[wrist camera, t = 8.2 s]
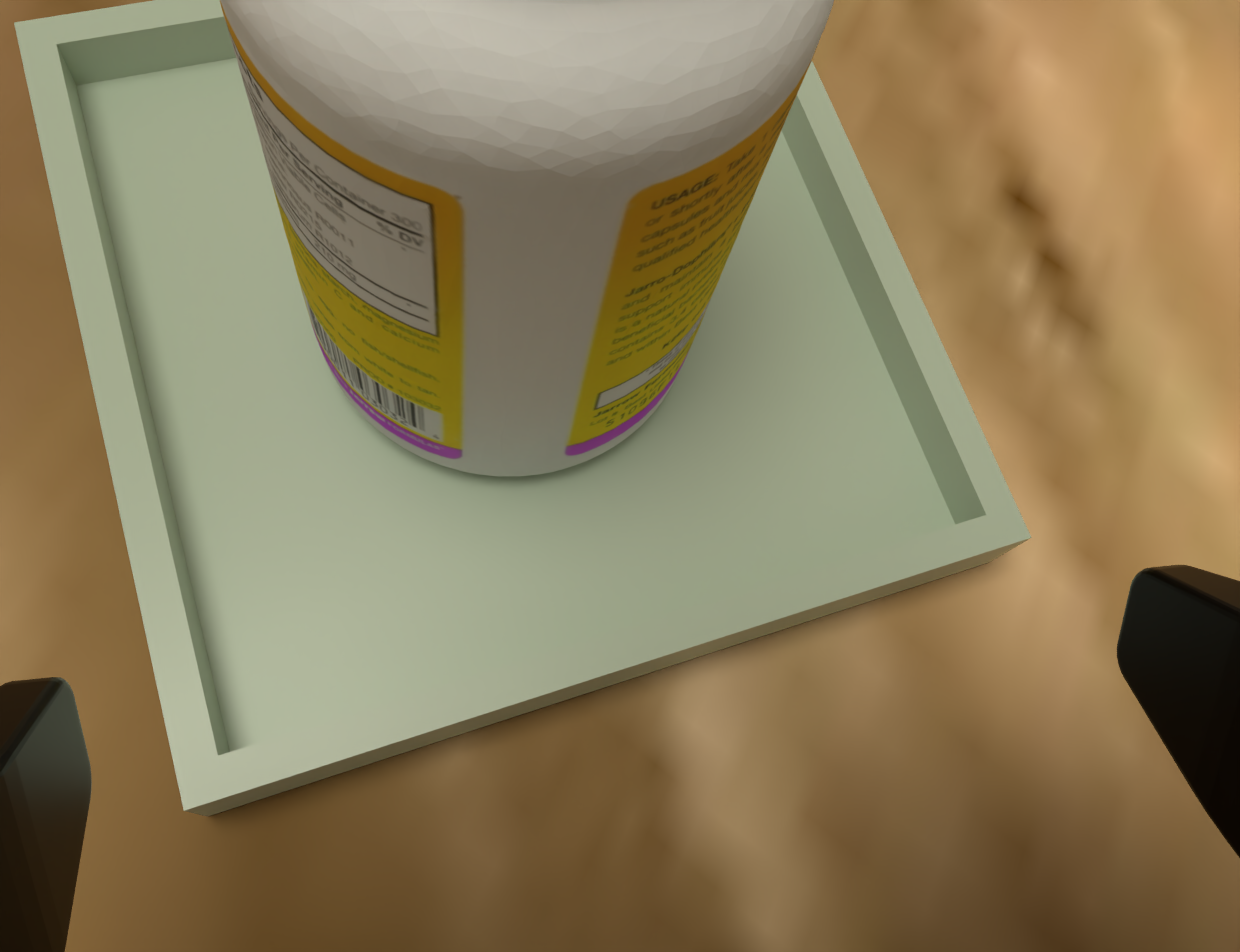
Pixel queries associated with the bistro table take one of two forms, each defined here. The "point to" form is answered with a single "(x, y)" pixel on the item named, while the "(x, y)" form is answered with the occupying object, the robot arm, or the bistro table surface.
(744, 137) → the supplement bottle
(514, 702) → the tray
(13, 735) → the robot arm
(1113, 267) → the bistro table surface
